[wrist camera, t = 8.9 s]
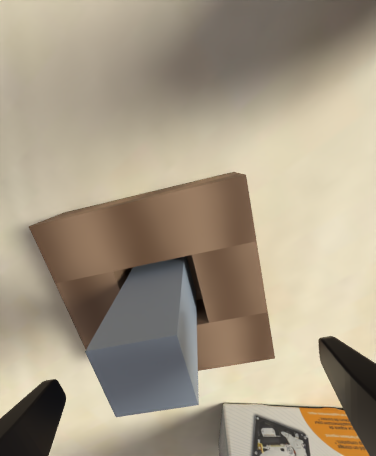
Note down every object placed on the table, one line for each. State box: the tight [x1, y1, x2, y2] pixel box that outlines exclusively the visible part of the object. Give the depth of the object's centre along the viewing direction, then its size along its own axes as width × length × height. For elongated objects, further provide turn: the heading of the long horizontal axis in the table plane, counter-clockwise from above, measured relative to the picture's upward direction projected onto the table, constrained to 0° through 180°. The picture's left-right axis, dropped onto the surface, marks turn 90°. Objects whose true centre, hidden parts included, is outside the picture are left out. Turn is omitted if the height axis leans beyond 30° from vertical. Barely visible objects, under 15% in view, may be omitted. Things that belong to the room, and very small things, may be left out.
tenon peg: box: [85, 256, 199, 417], centre depth 14 cm, size 4×4×9 cm
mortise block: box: [29, 172, 275, 371], centre depth 17 cm, size 14×14×4 cm
